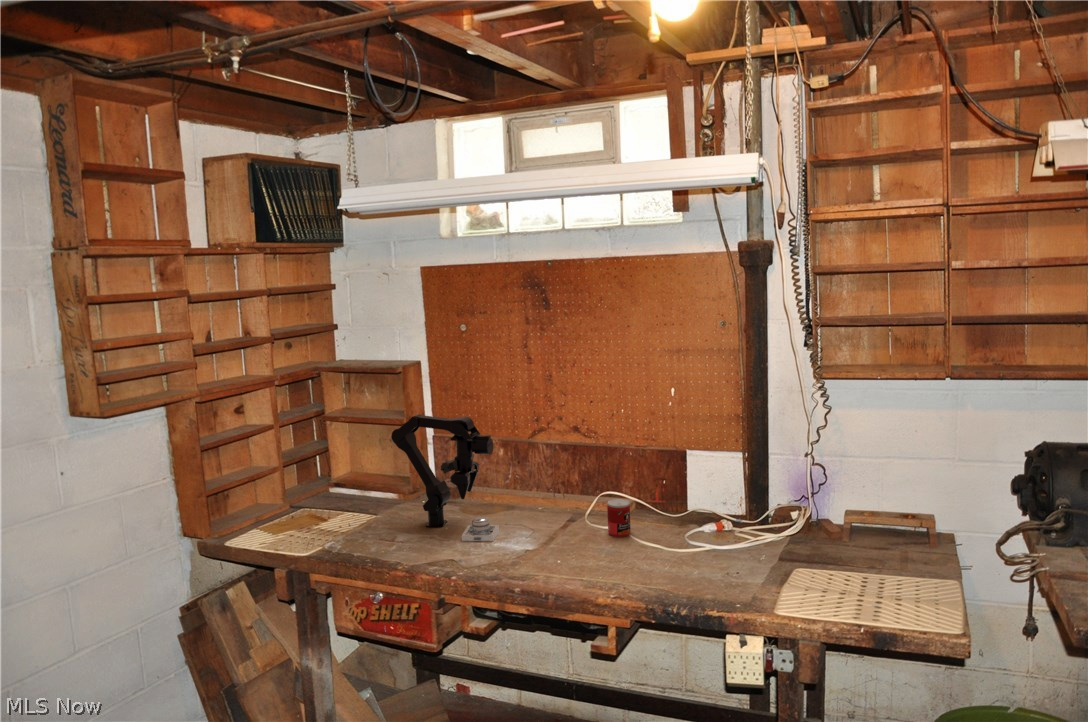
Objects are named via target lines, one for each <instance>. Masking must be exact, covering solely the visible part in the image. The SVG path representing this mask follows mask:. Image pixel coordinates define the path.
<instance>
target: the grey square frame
mask: <svg viewBox="0 0 1088 722" xmlns="http://www.w3.org/2000/svg"><path fill="white" fill-rule="evenodd" d="M489 528H490V531H493V532H491V534H490V535H473V534H471V532H472V524H468V525H467V527H466V528H465V529H464V531H463V533H462V534H461V542H494V541H495V540H496V538H497V535H498V534H499V531H500V526H499V524H496V525H495V524H489ZM469 533H470V534H469ZM495 537H496V538H495ZM494 539H495V540H494Z"/></svg>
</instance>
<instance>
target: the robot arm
mask: <svg viewBox="0 0 1088 722" xmlns="http://www.w3.org/2000/svg"><path fill="white" fill-rule="evenodd" d="M420 428H426V429H432V430H434V429H435V430H443V431H446V432H449V433H450V434H453V436H452V437H451V438H449V440H450V441H452V442H453V441H455V443H456V444H455V445H456V456H455V457H454V459H451V460H448V461H444V462H442V463H441V465H440V471H442V472H443V474H447V473H450V472H452V471H454V473H452V475H451V476H449V477H450V483H452V485H455V486H456V488H457V491H458V494H459V497H460V499H461V500H465V498H466V496H467V495H466V494H467V492H472V489H473V487H474V483H475V481H476V478H477V476H478V473H479V470H480V464H479V462H478V461H474V457H475V455H488V456H489V455H492V454H493V452H494V448H495V447H494V446H495V445H494V443H495V442H494V440H493V439H492V436H491V435H490V434H486V435H485V434H484V435H483V434H482V435H481V433H480V431H479V430H478V429H477V427H476V425H475V423H474V421H473V419H472V418H471V417H469V416H459V417H452V418H447V417H438V416H430V415H423V414H415V415H413V416H411V417H410V419H409V420H408V421H406V422H405V423H404V424H402V425H401V426H400V427H398V428H395V429H394V430H393V431H392V432H391V437H390V438H391V440H392V442H393V443H394V445H395V446H396V447H397V448H398V449H399V450H401V451H402V452H404V454H406V456H407V458H408V460H409V462H410V463H411V464H412V466H413V468H414V470H415V471H416V473H417V475H418V476H419V478H420V480H421V482H422V483H423V485H424V487H425V494H426V497H427V501H426V502H425V503H424V504H422V507H423V511H424V512H427V518H428V519H427V521H428V522H427V523H426V524H425V527H426V528H443V527H444V526H445V525H446V524H447V522H448V520H447V519H445V514H444V513H445V512H444V507H445V506H446V505H447V503H448V501H449V500H450V499H451V495H452V493H451V491H450V490H451V488H450V487H449V486H448V484H447V482H446V481H445V480H442V481H441V480H439V479H437V477H436V475H435V474H434V472H433V470H432V469H431V467H430V465H429V464H428V461H427V460H426V459H425V457H424V455H423V454H422V451H420V448H419V447H418V444H417V437H416V435H415V434H416V432H417V431H418V430H419V429H420Z"/></svg>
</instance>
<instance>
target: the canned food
mask: <svg viewBox="0 0 1088 722" xmlns="http://www.w3.org/2000/svg"><path fill="white" fill-rule="evenodd" d="M630 503H631V502H630V501H628V500H627V499H619V498H618V499H617V498H615V499H610V500H608V501H607V504H606V506H607V507H606V508H607V509H606V510H607V511H606V512H607V532H608V534H609V535H610V536H612V537H615V538H625V537H628V536H629V535H630V534H631V504H630Z"/></svg>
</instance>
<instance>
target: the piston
mask: <svg viewBox="0 0 1088 722" xmlns="http://www.w3.org/2000/svg"><path fill="white" fill-rule="evenodd" d="M471 525H472V531H471V532H472V535H491V534H490V528H489V525H490V519H489V517H487V516H476V517H473V518H472V520H471Z"/></svg>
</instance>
